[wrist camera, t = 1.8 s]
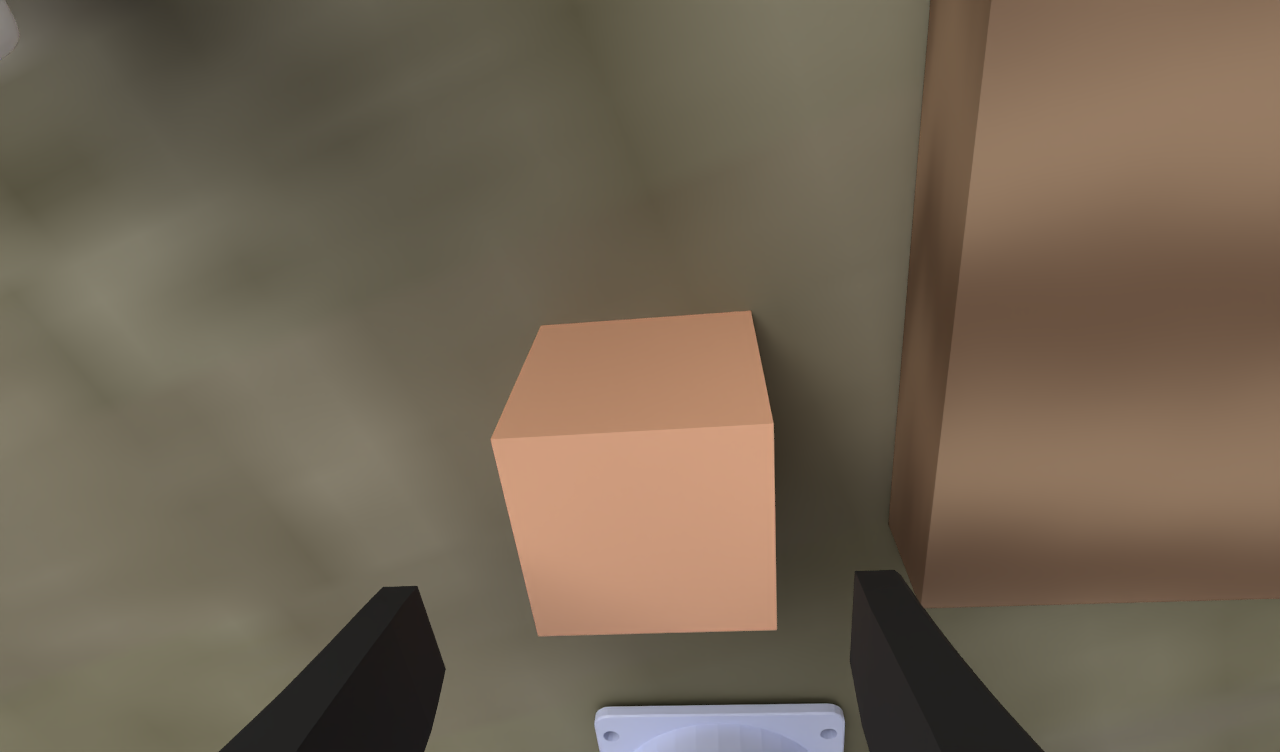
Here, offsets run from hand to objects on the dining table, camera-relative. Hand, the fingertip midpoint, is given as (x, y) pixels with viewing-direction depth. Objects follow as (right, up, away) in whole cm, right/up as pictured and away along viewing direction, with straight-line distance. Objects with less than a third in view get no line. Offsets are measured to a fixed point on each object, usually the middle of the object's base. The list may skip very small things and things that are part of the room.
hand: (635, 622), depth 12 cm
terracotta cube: (0, +3, +6) cm, 7 cm away
